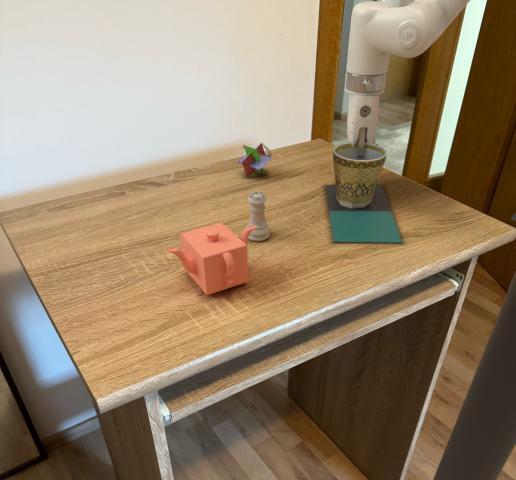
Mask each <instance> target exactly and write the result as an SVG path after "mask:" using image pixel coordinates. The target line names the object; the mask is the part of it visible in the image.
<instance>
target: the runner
mask: <svg viewBox="0 0 516 480" xmlns="http://www.w3.org/2000/svg"><path fill="white" fill-rule="evenodd" d="M325 191H326V199H327V207H328V213H329V220H330V228H331V235H332V240H333V243H337V244H339V243H342V244H344V243H345V244H349V243H350V244H352V243H353V244H403V240H402V237H401V235H400V233H399V229H398V226H397V223H396V220H395V217H394V215H393V212H392V209H391V206H390V203H389V201H388V197H387V194H386V192H385V189H384V187H383V185H377V186H376V189H375V192H374V195H373V198H372V200H371V202H370V203H369V204H368V205H367V206H365V207H364V208H348V207H345V206H341V205H340V204H339V202H338V200H337V196H336V184H335V185H334V184H333V185H329V184H328V185H325Z"/></svg>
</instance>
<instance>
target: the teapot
mask: <svg viewBox="0 0 516 480" xmlns="http://www.w3.org/2000/svg"><path fill="white" fill-rule="evenodd" d="M246 227H247V226H246ZM256 227H257V226H255V225H254V226H250V227H247V228H244V230H243V231H242V232H241V234H240V238H239V237H238V235H236V233H234V232H233V231H232V230H231V229H230V228H229V227H227V226H226V225H225V224H224V223H223V222H219V223H215V224H210V225H208V226H204V227H202V226H201V227H198V228H196V229H193V230H189V231H185V232H182V233H180V239H181V240H180V241H181V248H178V247H171V248H168V249H166V250H165V252H166V253H170V254H174V255H175V256H176V258H177V259H178V260H179V262H180V264H181V266H182V268H183V269H184V270H185V271H186V273H188V275H189V276H190V277H191V278H192V279H193V281H194V282H195V283H196V284H197V286H199V288H200V289H201V290H202V291H203V292H204V294H205V295H206V296H209V295H212V294H215V293H218V292H221V291H224V290H228V289H231V288H234V287H236V286H239V285H243V284H246V283H248V282H249V265H248V243H249V239H248V237H249V235H250V233H251V232H252V231H253V230H254V229H255V228H256Z"/></svg>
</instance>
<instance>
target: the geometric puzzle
mask: <svg viewBox="0 0 516 480" xmlns="http://www.w3.org/2000/svg"><path fill="white" fill-rule="evenodd" d="M256 144H258V145H256V146H255V147H252V146H251V147H250V146H247V145H246V144H242V147H243V149H244V151H245V154H244V153H241V154H242V156H241V158H240V159H238V161H237V164H238V165H240V166H243V169H242V167H240V168H241V170H242V171H243V173H244V174H245V177H246V179H247V178H249V177H252V176H253V175H254V174H256V173H258V174H260V175H261V176H266V173H267V171H266V170H267V167H265V166H267V164H268V163H270V162H271V161H272V159H273V157H272V152H271V150H270V149H269V148H268V147H267V146H266V145H265V144H264V143H263V142H260V143H256ZM248 145H251V144H248ZM264 167H265V169H264ZM255 177H257V176H256V175H255V176H254V178H255Z"/></svg>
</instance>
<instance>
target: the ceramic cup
mask: <svg viewBox="0 0 516 480" xmlns="http://www.w3.org/2000/svg"><path fill="white" fill-rule="evenodd" d="M357 151H358V142H356V143H354V149H353V148H352V146H351V142H348V141H347V142H343V143H340V144H338V145H336V146H334V147H333V149H332V164H333V171H334V183H335V185H336V196H337V200H338V202H339V204H340V205H341V206H345V207H348V208H364V207H365V206H367V205H368V204H369V203H370V202H371V200H372V198H373V195H374V192H375V189H376V186H378V183H379V179H380V176H381V174H382V172H383V170H384V169H383V168H384V165H385V162H386V160H387V159H386V158H387V156H388V155H387V154H388V153H387V152H388V151H387V150H386V149H385V148H384V147H383V146H380V145H379V144H377V143H375V144H372V143H370V144H369V145H368V143H366V142H365V146H364V156H363V157H357Z"/></svg>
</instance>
